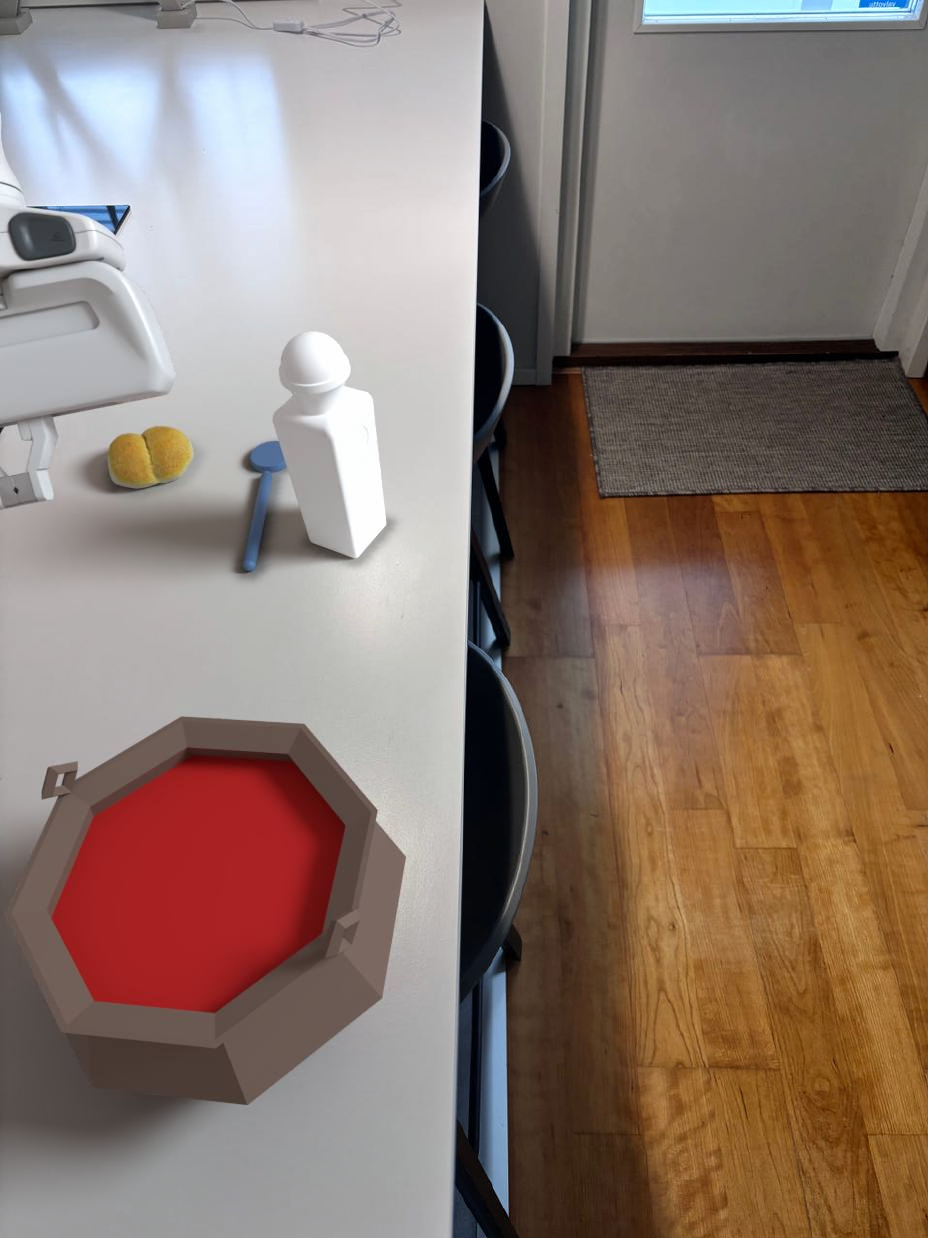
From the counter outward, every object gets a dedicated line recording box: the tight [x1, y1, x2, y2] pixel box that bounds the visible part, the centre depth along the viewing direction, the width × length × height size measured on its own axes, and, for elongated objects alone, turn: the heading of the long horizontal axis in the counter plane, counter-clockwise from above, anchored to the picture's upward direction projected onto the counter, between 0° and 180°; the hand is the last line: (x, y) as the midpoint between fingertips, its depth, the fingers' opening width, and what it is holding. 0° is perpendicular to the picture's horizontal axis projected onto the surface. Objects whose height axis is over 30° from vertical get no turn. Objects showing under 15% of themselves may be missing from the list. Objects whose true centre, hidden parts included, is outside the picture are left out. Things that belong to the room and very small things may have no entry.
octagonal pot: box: [4, 716, 407, 1106], centre depth 60 cm, size 24×24×16 cm
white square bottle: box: [272, 330, 387, 559], centre depth 85 cm, size 6×6×22 cm
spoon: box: [242, 440, 287, 572], centre depth 97 cm, size 19×4×1 cm, turn 1°
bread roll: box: [106, 425, 195, 489], centre depth 101 cm, size 8×9×4 cm
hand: (26, 504), depth 55 cm, fingers closed
